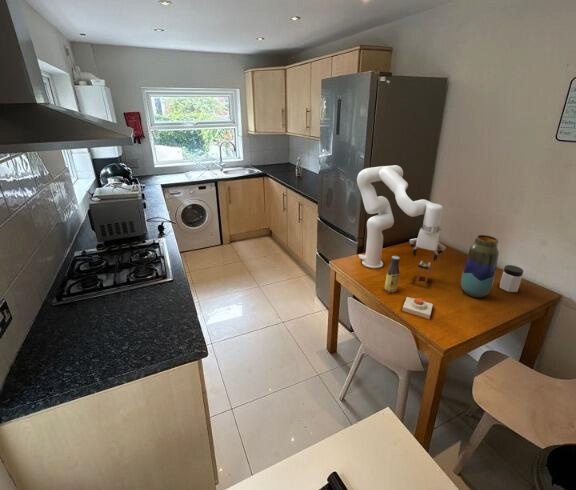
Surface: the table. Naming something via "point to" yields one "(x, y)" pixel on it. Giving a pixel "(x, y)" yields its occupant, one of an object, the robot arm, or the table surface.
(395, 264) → the sauce bottle
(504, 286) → the jar
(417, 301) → the button
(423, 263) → the toaster lever
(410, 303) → the block
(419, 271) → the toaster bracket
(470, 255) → the vase
